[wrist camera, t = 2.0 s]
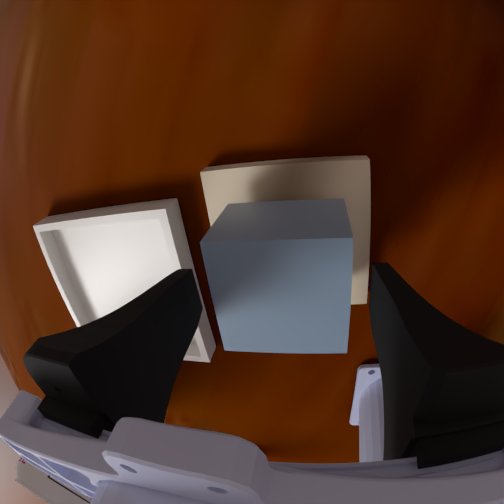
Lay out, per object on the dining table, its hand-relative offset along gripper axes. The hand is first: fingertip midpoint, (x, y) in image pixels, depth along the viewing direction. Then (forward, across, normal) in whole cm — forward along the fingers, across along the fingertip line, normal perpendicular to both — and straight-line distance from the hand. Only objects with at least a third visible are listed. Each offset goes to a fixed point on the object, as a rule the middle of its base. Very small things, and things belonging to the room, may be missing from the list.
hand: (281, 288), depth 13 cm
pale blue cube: (+3, 0, 0) cm, 3 cm away
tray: (+5, +11, +3) cm, 13 cm away
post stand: (+5, 0, 0) cm, 5 cm away
